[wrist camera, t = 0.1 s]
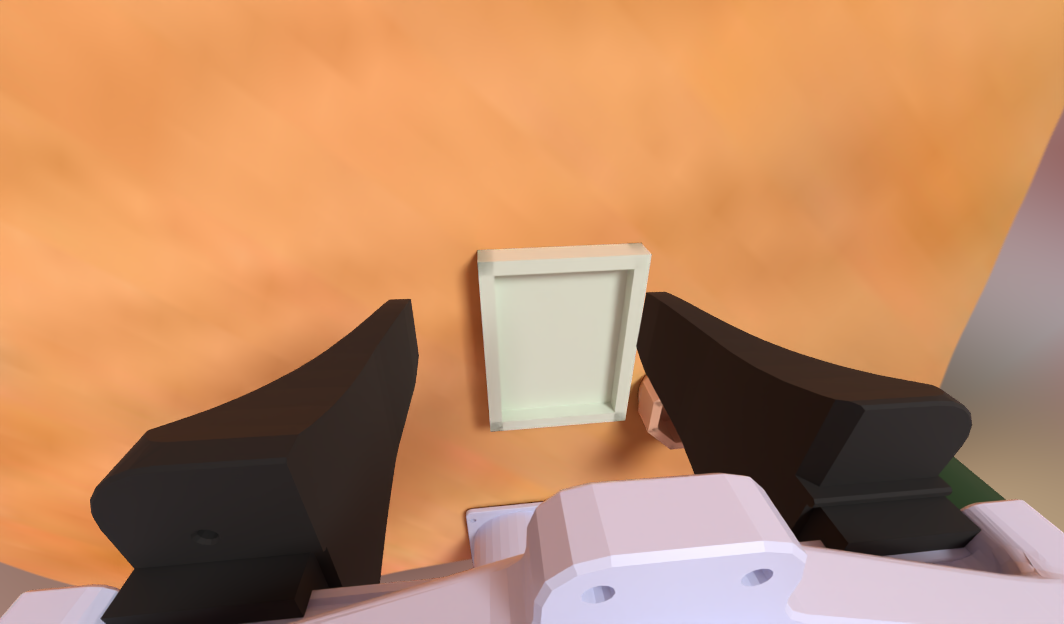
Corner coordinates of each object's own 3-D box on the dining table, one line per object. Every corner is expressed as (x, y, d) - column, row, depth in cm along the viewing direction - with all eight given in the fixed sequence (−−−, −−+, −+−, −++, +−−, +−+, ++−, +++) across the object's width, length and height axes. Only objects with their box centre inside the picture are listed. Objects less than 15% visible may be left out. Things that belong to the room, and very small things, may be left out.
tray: (618, 403, 29) (625, 420, 28) (490, 413, 28) (490, 431, 27) (641, 242, 23) (651, 254, 21) (477, 250, 22) (477, 262, 21)
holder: (715, 417, 31) (732, 443, 29) (632, 424, 30) (643, 451, 28) (737, 347, 27) (759, 371, 25) (644, 354, 27) (658, 379, 25)
